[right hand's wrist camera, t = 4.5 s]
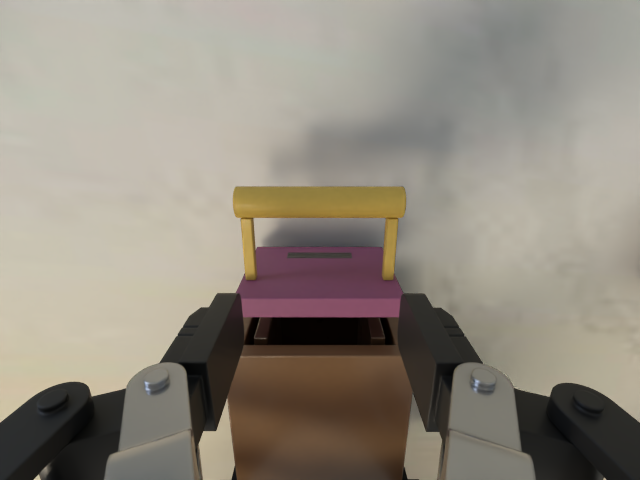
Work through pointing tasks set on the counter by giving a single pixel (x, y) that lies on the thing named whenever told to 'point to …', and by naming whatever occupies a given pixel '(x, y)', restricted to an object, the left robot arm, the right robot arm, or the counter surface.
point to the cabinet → (320, 410)
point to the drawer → (319, 268)
